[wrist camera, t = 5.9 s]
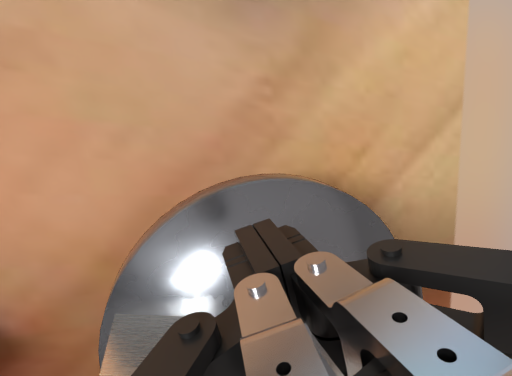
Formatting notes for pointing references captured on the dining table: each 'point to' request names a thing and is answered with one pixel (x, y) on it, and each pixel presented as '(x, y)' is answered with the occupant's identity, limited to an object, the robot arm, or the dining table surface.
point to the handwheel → (219, 256)
